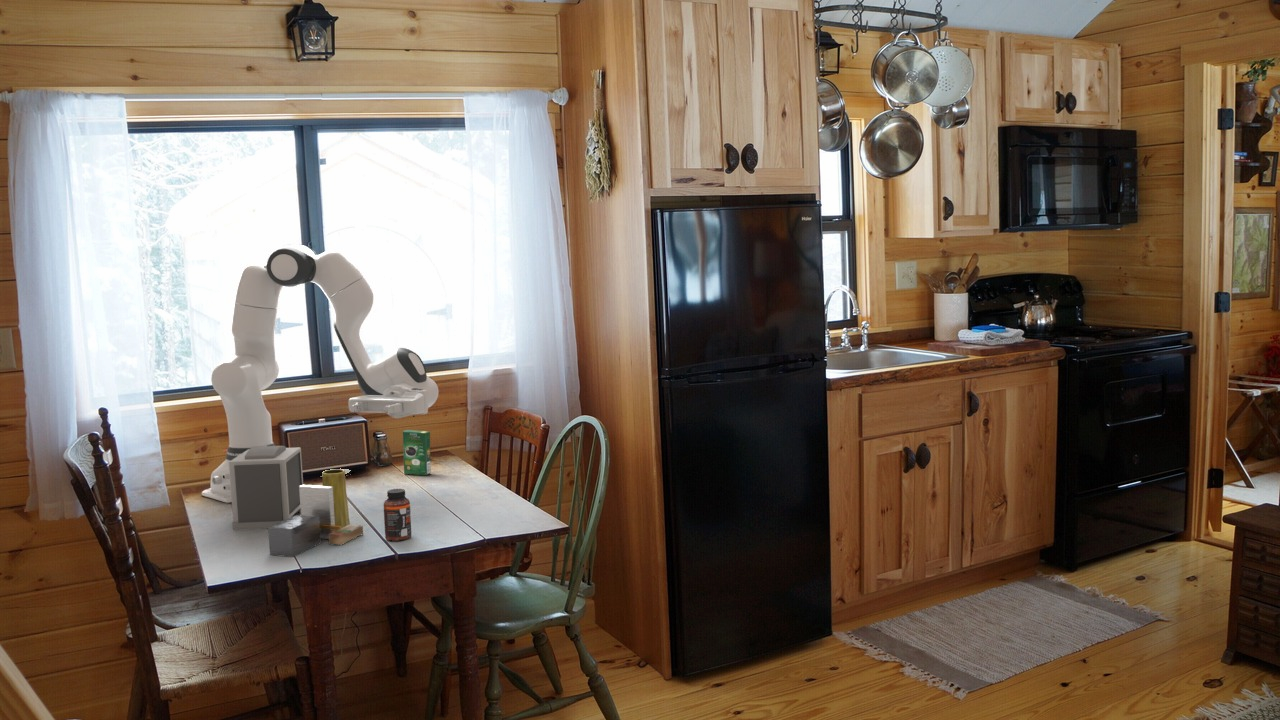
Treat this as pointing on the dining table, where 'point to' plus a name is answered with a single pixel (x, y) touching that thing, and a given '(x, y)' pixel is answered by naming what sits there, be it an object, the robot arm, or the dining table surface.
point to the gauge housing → (294, 535)
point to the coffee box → (416, 452)
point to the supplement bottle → (397, 515)
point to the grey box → (265, 486)
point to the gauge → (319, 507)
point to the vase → (338, 495)
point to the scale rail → (345, 534)
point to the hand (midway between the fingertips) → (370, 409)
